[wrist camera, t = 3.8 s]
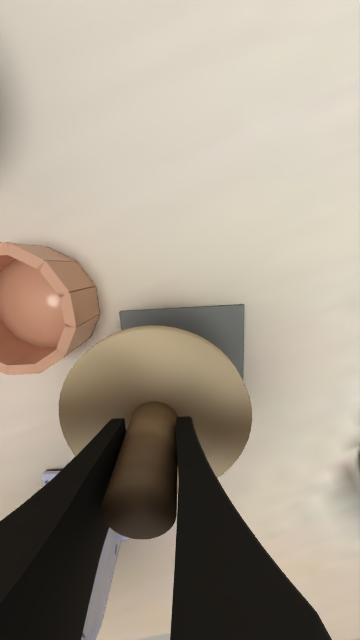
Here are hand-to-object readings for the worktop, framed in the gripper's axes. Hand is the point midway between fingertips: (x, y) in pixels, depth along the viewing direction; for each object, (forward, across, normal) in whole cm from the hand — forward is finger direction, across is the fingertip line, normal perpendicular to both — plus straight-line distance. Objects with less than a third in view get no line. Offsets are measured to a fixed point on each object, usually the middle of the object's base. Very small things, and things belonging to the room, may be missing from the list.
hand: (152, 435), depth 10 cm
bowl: (+9, +10, -5) cm, 14 cm away
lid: (+2, 0, 0) cm, 2 cm away
